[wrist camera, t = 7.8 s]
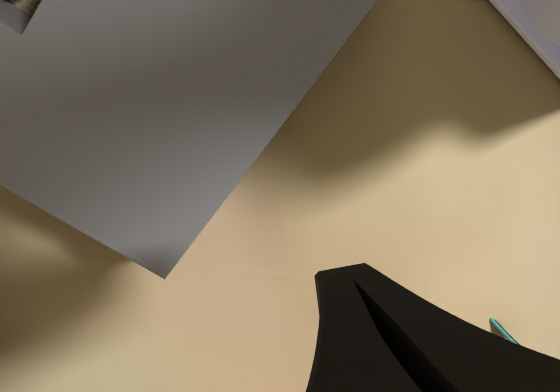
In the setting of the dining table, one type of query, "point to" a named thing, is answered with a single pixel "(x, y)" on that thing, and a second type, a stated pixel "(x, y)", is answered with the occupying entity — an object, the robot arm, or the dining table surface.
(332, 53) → the deck
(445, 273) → the dining table surface
